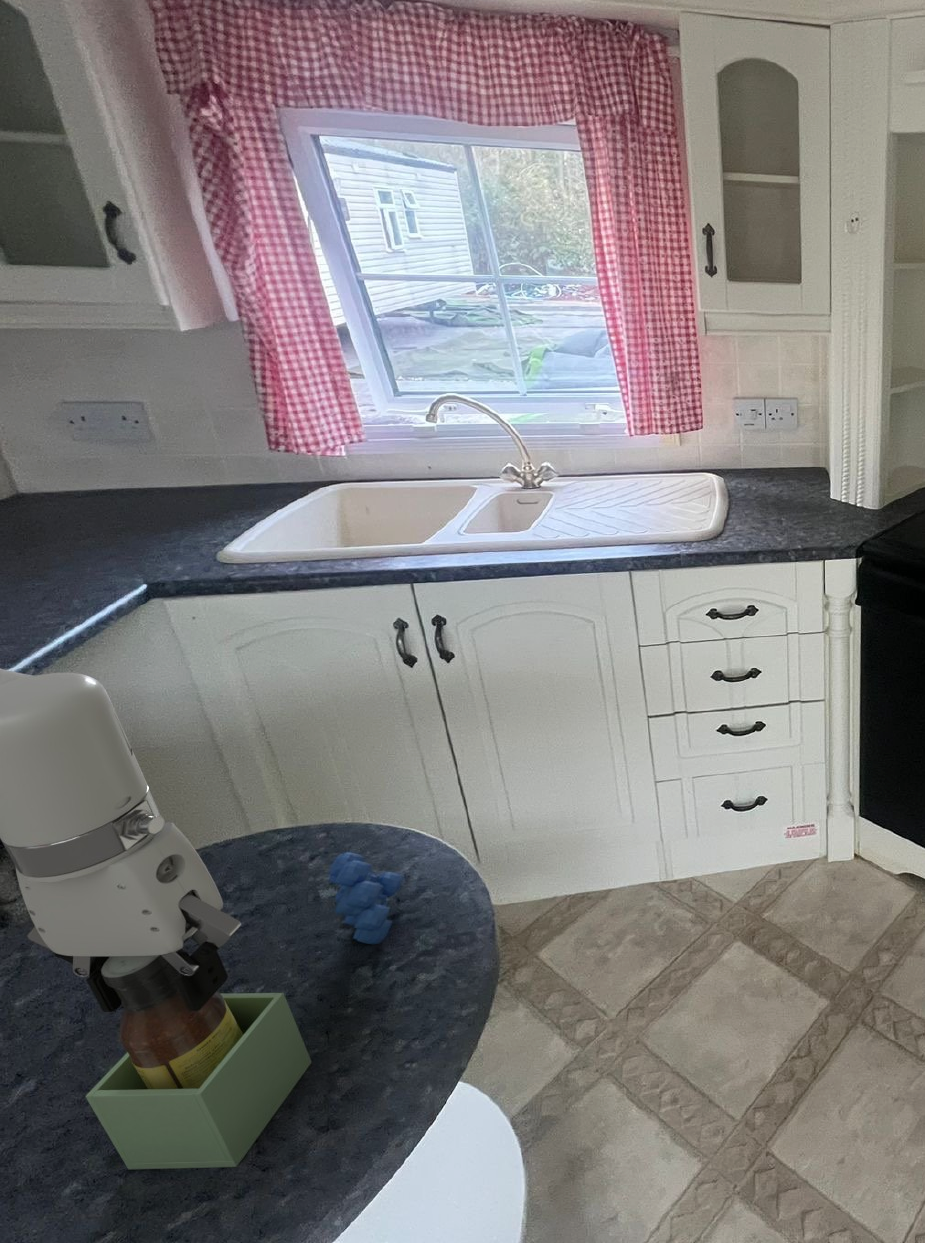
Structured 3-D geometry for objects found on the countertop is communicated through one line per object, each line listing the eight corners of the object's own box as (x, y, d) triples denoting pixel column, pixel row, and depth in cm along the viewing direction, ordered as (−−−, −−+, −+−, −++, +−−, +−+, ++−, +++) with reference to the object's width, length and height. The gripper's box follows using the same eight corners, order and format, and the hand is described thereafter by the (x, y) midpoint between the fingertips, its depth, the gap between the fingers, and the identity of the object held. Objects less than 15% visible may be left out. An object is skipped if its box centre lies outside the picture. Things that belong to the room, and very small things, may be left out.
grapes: (434, 941, 86) (411, 862, 82) (364, 981, 82) (336, 899, 77) (397, 888, 93) (374, 812, 89) (331, 922, 88) (303, 843, 84)
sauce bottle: (276, 1060, 73) (210, 909, 65) (252, 1126, 68) (178, 969, 60) (189, 1087, 70) (110, 933, 63) (157, 1157, 65) (67, 998, 58)
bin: (127, 1169, 65) (84, 1096, 61) (216, 1063, 73) (182, 993, 69) (236, 1167, 65) (200, 1094, 62) (312, 1062, 74) (283, 992, 70)
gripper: (246, 796, 61) (306, 955, 67) (20, 795, 60) (104, 957, 66) (161, 868, 54) (238, 1037, 60) (-96, 868, 53) (11, 1041, 59)
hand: (167, 994), depth 63 cm, fingers open, 6 cm apart
